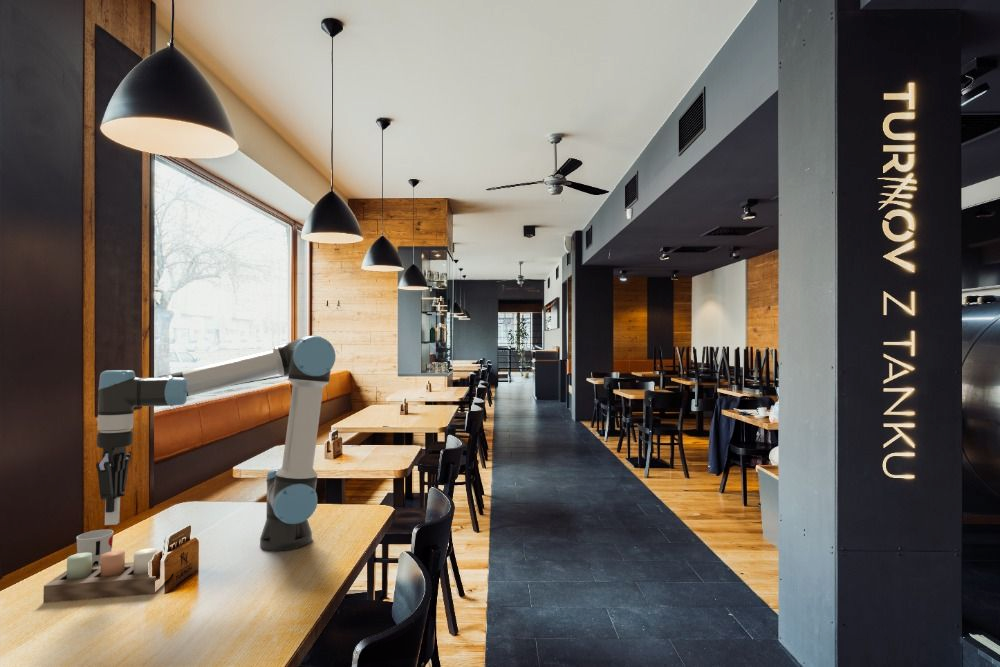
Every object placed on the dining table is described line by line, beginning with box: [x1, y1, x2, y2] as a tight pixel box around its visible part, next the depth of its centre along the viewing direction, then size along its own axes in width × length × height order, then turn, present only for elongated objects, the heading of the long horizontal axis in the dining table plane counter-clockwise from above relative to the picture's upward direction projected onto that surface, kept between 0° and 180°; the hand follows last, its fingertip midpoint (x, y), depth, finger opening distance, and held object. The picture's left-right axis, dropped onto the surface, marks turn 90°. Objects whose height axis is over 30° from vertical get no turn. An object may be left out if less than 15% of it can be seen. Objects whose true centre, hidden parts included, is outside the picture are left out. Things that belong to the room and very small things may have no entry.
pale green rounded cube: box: [66, 552, 92, 580], centre depth 137 cm, size 5×5×5 cm
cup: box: [76, 529, 114, 565], centre depth 149 cm, size 8×8×10 cm
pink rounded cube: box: [100, 549, 126, 577], centre depth 139 cm, size 5×5×5 cm
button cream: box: [133, 547, 158, 575], centre depth 140 cm, size 5×5×5 cm
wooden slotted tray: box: [42, 561, 156, 604], centre depth 138 cm, size 24×12×4 cm, turn 101°
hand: (111, 523), depth 139 cm, fingers closed
